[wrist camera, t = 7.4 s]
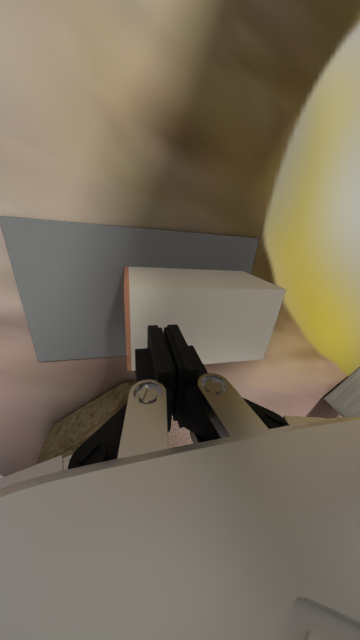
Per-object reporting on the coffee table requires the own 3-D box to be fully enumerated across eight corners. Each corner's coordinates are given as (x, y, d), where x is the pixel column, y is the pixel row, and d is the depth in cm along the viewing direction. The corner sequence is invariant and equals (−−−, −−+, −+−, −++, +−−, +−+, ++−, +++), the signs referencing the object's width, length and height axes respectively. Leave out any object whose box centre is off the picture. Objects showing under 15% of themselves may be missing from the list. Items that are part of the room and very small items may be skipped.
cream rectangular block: (123, 287, 11) (286, 289, 14) (124, 266, 16) (242, 270, 19) (127, 371, 14) (263, 359, 16) (127, 329, 19) (230, 325, 22)
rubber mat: (0, 215, 13) (-3, 215, 13) (257, 238, 18) (259, 238, 18) (39, 359, 18) (38, 361, 18) (231, 346, 23) (233, 348, 23)
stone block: (46, 424, 22) (27, 473, 18) (131, 371, 22) (133, 407, 18) (83, 445, 25) (74, 492, 21) (159, 398, 25) (166, 436, 20)
